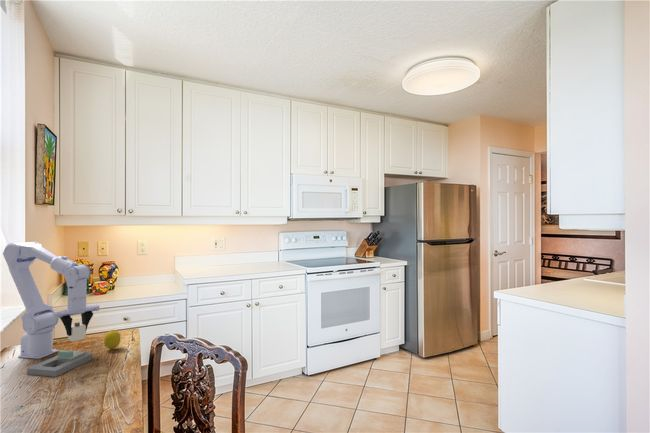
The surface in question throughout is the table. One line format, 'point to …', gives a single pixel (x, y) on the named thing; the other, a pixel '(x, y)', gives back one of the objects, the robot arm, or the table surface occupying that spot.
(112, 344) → the lemon
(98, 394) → the table surface
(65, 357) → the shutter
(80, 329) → the plug
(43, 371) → the socket plate
